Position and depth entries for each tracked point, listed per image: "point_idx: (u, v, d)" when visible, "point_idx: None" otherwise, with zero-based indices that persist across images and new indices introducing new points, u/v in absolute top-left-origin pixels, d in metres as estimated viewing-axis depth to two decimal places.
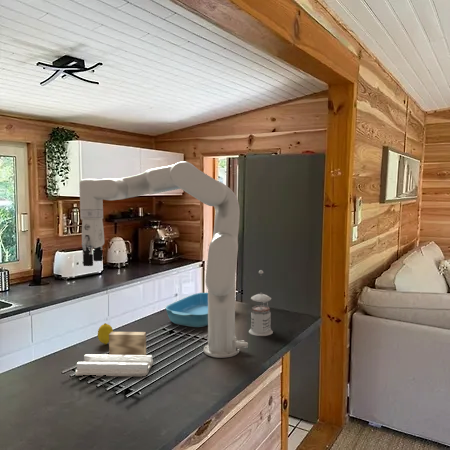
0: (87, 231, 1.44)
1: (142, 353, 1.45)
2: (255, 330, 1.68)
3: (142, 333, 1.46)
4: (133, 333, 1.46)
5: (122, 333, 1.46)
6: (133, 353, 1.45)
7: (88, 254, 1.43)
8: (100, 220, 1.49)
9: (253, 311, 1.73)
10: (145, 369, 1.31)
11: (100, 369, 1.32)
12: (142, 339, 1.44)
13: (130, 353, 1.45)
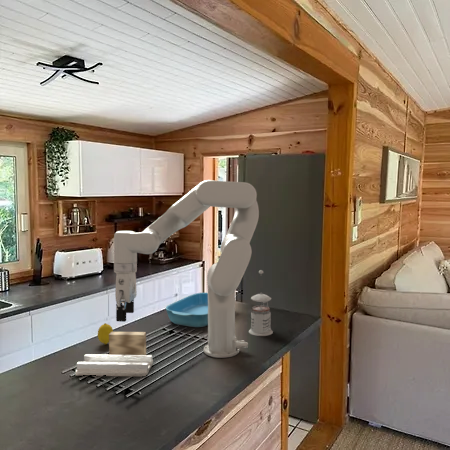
0: (121, 286, 1.40)
1: (142, 353, 1.45)
2: (255, 330, 1.68)
3: (142, 333, 1.46)
4: (133, 333, 1.46)
5: (122, 333, 1.46)
6: (133, 353, 1.45)
7: (122, 310, 1.39)
8: (133, 273, 1.45)
9: (253, 311, 1.73)
10: (145, 369, 1.31)
11: (100, 369, 1.32)
12: (142, 339, 1.44)
13: (130, 353, 1.45)
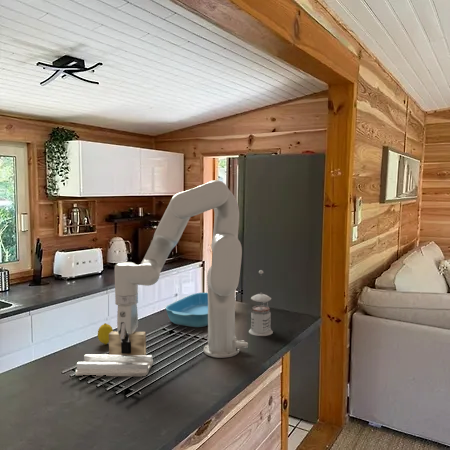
0: (123, 318, 1.41)
1: (142, 353, 1.45)
2: (255, 330, 1.68)
3: (142, 333, 1.46)
4: None
5: None
6: (133, 353, 1.45)
7: None
8: (135, 304, 1.46)
9: (253, 311, 1.73)
10: (145, 369, 1.31)
11: (100, 369, 1.32)
12: (142, 339, 1.44)
13: (130, 353, 1.45)
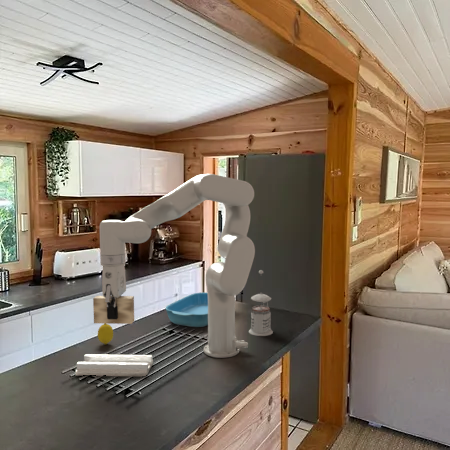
0: (108, 279, 1.28)
1: (129, 318, 1.33)
2: (255, 330, 1.68)
3: (129, 297, 1.34)
4: (120, 297, 1.34)
5: None
6: (120, 318, 1.33)
7: None
8: (122, 265, 1.34)
9: (253, 311, 1.73)
10: (145, 369, 1.31)
11: (100, 369, 1.32)
12: (129, 303, 1.32)
13: None
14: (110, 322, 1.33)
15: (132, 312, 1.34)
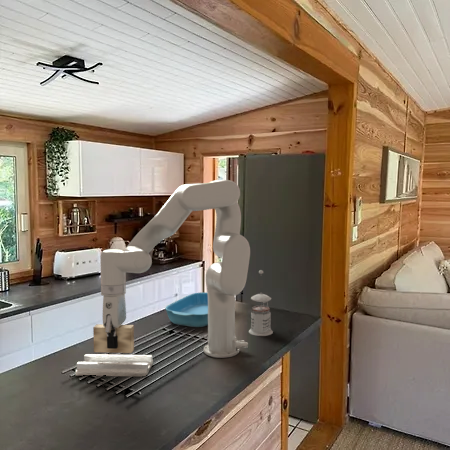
0: (109, 310, 1.29)
1: (129, 348, 1.33)
2: (255, 330, 1.68)
3: (129, 326, 1.34)
4: (120, 326, 1.35)
5: None
6: (119, 348, 1.33)
7: None
8: (122, 294, 1.35)
9: (253, 311, 1.73)
10: (145, 369, 1.31)
11: (100, 369, 1.32)
12: (129, 333, 1.33)
13: None
14: (110, 351, 1.34)
15: (132, 341, 1.34)
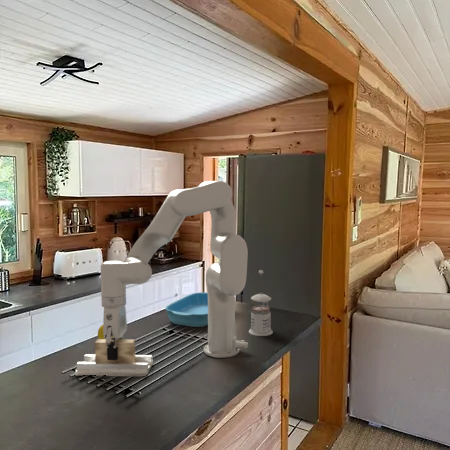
0: (109, 321, 1.29)
1: (131, 362, 1.34)
2: (255, 330, 1.68)
3: (131, 341, 1.35)
4: (121, 340, 1.35)
5: None
6: None
7: (113, 348, 1.31)
8: (123, 305, 1.35)
9: (253, 311, 1.73)
10: (145, 369, 1.31)
11: (100, 369, 1.32)
12: (131, 347, 1.34)
13: None
14: None
15: (133, 356, 1.35)
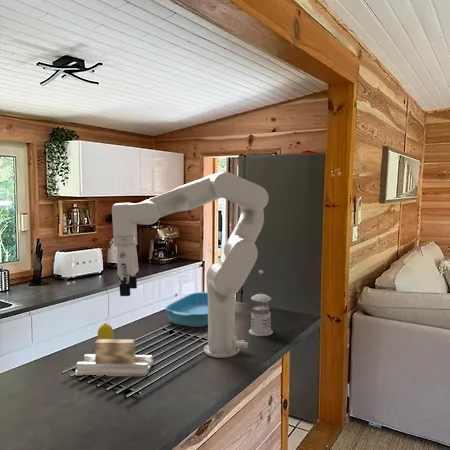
0: (123, 259, 1.35)
1: (131, 362, 1.34)
2: (255, 330, 1.68)
3: (131, 341, 1.35)
4: (121, 340, 1.35)
5: (109, 341, 1.35)
6: None
7: (125, 284, 1.34)
8: (134, 246, 1.40)
9: (253, 311, 1.73)
10: (145, 369, 1.31)
11: (100, 369, 1.32)
12: (131, 347, 1.34)
13: None
14: None
15: (133, 356, 1.35)
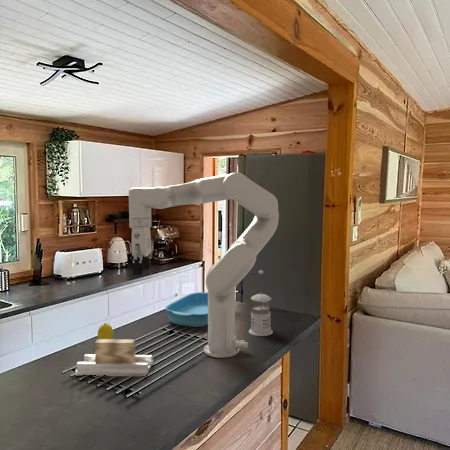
0: (137, 240, 1.43)
1: (131, 362, 1.34)
2: (255, 330, 1.68)
3: (131, 341, 1.35)
4: (121, 340, 1.35)
5: (109, 341, 1.35)
6: None
7: (138, 263, 1.43)
8: (148, 228, 1.49)
9: (253, 311, 1.73)
10: (145, 369, 1.31)
11: (100, 369, 1.32)
12: (131, 347, 1.34)
13: None
14: None
15: (133, 356, 1.35)
